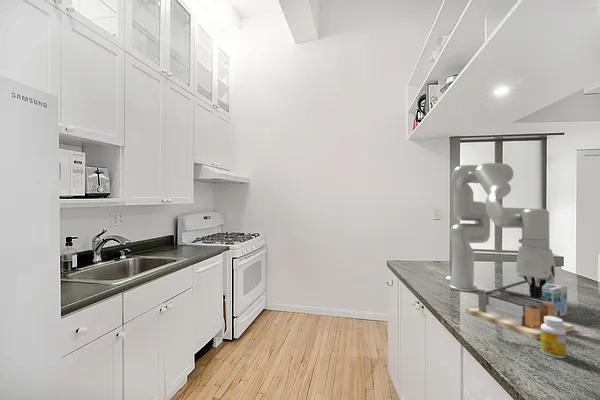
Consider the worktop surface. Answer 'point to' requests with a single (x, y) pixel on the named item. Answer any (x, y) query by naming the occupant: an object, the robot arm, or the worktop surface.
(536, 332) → the board
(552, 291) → the light bulb box
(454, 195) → the robot arm
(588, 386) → the worktop surface
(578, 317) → the worktop surface
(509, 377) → the worktop surface
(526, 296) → the strap
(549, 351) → the supplement bottle
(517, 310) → the grey and orange fixture
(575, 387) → the worktop surface
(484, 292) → the strap
